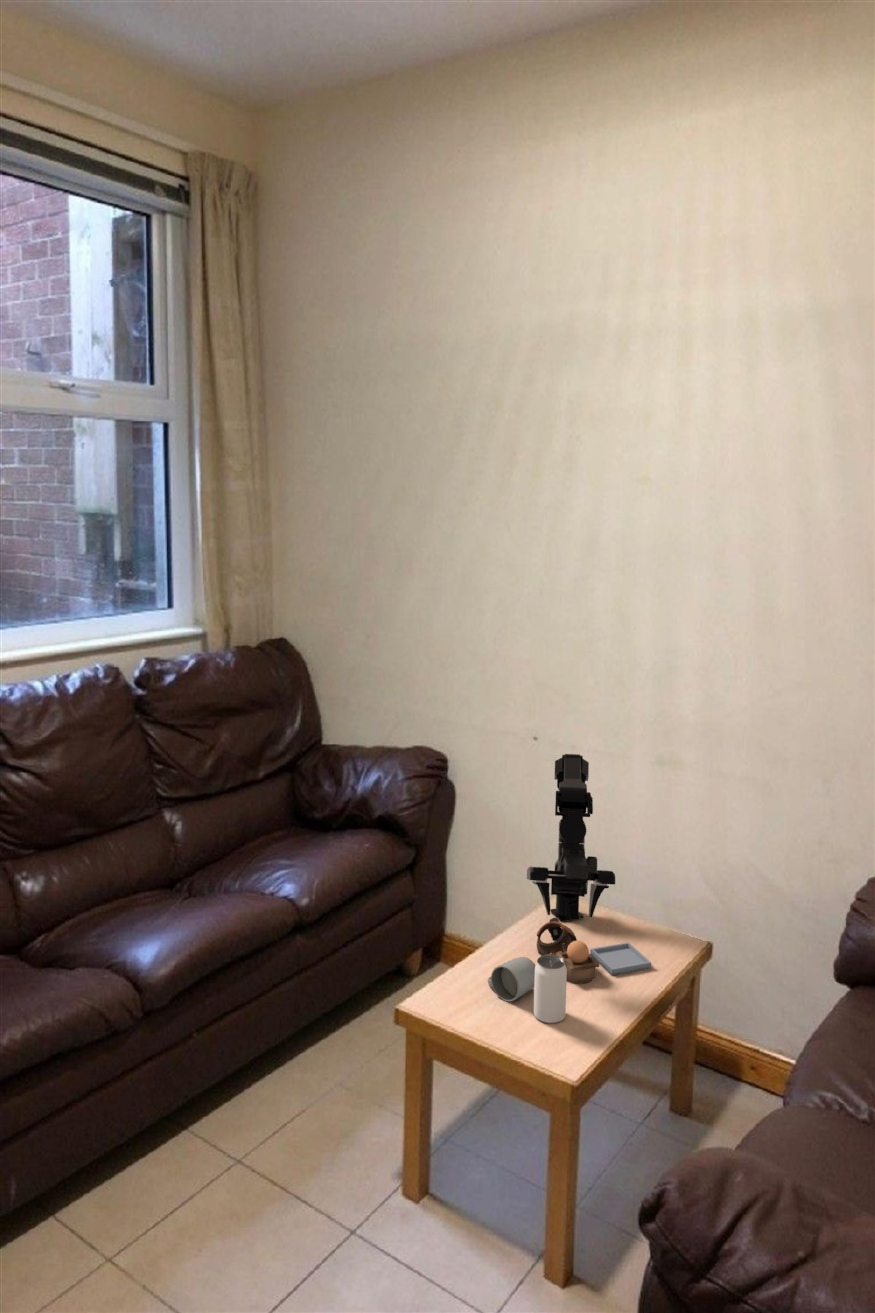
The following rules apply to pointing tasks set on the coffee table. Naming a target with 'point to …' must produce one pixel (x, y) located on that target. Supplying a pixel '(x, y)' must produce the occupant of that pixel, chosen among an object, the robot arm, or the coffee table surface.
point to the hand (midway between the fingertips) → (569, 916)
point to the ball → (577, 951)
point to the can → (550, 989)
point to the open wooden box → (579, 969)
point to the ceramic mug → (513, 978)
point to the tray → (620, 958)
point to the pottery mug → (555, 937)
